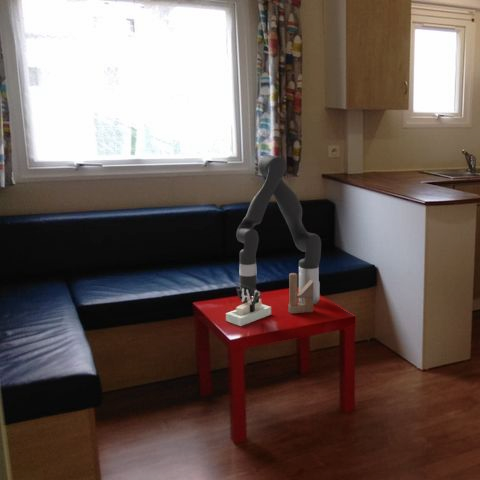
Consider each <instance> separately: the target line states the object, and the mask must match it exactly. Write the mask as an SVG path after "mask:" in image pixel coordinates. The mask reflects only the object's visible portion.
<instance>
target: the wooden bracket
mask: <svg viewBox="0 0 480 480" xmlns="http://www.w3.org/2000/svg"><path fill="white" fill-rule="evenodd" d="M288 277H289V278H288V279H289V280H288V282H289V283H288V284H289V285H288V286H289V290H288V291H289V293H288V294H289V296H288V297H289V302H288V305H287V308H288V309H287V311H288V313H289V314H302V313H303V314H304V313H313V312H314V304H313V281H312V280H310V281H309V282H308V283H307V284H306V285H305V286H304V287H303V289H302V290H301V291H300V292H299V291H298V273H296V272H291V273H289V274H288ZM299 298H304V304H302V303H300V302H298V299H299Z"/></svg>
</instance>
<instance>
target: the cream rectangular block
mask: <svg viewBox="0 0 480 480" xmlns="http://www.w3.org/2000/svg"><path fill="white" fill-rule="evenodd" d="M247 301H248V302H246V303H244V304H243V303H242V304H240V305H238V306H236V307H235V310H236V311H237V315H239V316H243V315H246V314H249V313H251V312H250V302H249V300H247ZM252 301H253V300H252ZM262 304H263V303H262V298H260V299H259V302H258V303H256V304H255V311H257V310H260V309H262Z"/></svg>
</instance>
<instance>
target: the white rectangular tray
mask: <svg viewBox="0 0 480 480" xmlns="http://www.w3.org/2000/svg"><path fill="white" fill-rule="evenodd" d="M261 304H262V309H260V310H257V311H254V312H251V313H249V314H246V315H243V316H239V315H237V311H236V309H234V310H231V311H229V312H226V313H225V321H226V322H229V323H231V324H233V325H236V326H239V327H242V326H245V325H248V324H250V323H252V322H255V321H257V320H260V319H263V318H265V317H268V316H270V315H272V306H269V305H266V304H263V303H261Z"/></svg>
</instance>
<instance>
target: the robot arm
mask: <svg viewBox="0 0 480 480" xmlns="http://www.w3.org/2000/svg"><path fill="white" fill-rule="evenodd" d="M286 169H287V163H286V160H285V159H284V158H283V157H281V156H279V155H278V156H277V155H269V154H268V155H263V156H261V157H260V159H259V160H258V170H259V172H260V175H261V177H262V179H264V180H265V181H264V183H263V185H262V187H261V188H260V189H259V191H258V192H257V193H256V194H255V195H254V197H253V199H252V200H251V201H250V204H249V206H248V210H247V213H246V215H245V217H244V218H243V219H242V221H241V223H240V224H239V226H238V227H237V230H236V235H235V237H236V239H237V241H238V242H240V243H242V244H243V249H241V250H240V251H239V268H238V270H239V272H238V273H239V275H238V277H239V284H240V285H238V286H236V287H235V290H236V293H237V297H238V299H239V300H240V301H241V302H242V304H244V303H246V302H248V301H249V302H250V312H254V311H255V304H256V303H258V302H259V299H261V295H262V291H260V290H257V286H256V285H257V284H258V277H257V276H258V274H257V272H258V271H257V269H258V268H257V257H256V255H257V252H258V251H257V250H258V245H259V242H260V239H259V238H260V237H259V234H258V231H257V230H256V229H254V228H255V226H257V225H260V224H261V222H262V221H263V218H264V215H265V213H266V210H267V207H268V205H269V203H270V200H271V199H272V197H273V198H274V199H275V202H276V203H277V205H278V208H279V210H280V212H281V214H282V216H283V218H284V220H285V222H286V224H287V226H288V228H289V231H290V234H291V236H292V239H293V243H294V245H295V247H296V248H297V249H298V250H299V251H301V252H302V253H303V252H304V253H305V256H304V258H301V259H299V261H298V293H299V292H300V291H301V290H302V289H303V287H304V286H305V285H306V284H307V283H308V282H309V281H310V280H312V281H313V305H316V304H318V303H319V301H320V295H321V293H320V288H321V287H320V286H321V285H320V284H321V283H320V281H319V273H320V271H319V269H320V268H319V267H320V265H319V264H320V261H321V254H322V241H321V237H320V236H319V235H318V234H317V233H312V232H308V231H307V230H306V228H305V226H304V224H303V221H302V219H303V218H302V217H303V207H302V204H301V203H300V200H299V198H298V196H297V194H296V193H295V192H294V191H293V189H292V188H290V187H289V185H288V184H286V181H284V179H283V176H284V175H285V172H286V171H287V170H286ZM252 300H253V301H252ZM298 303H302V304H304V298H298Z"/></svg>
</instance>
